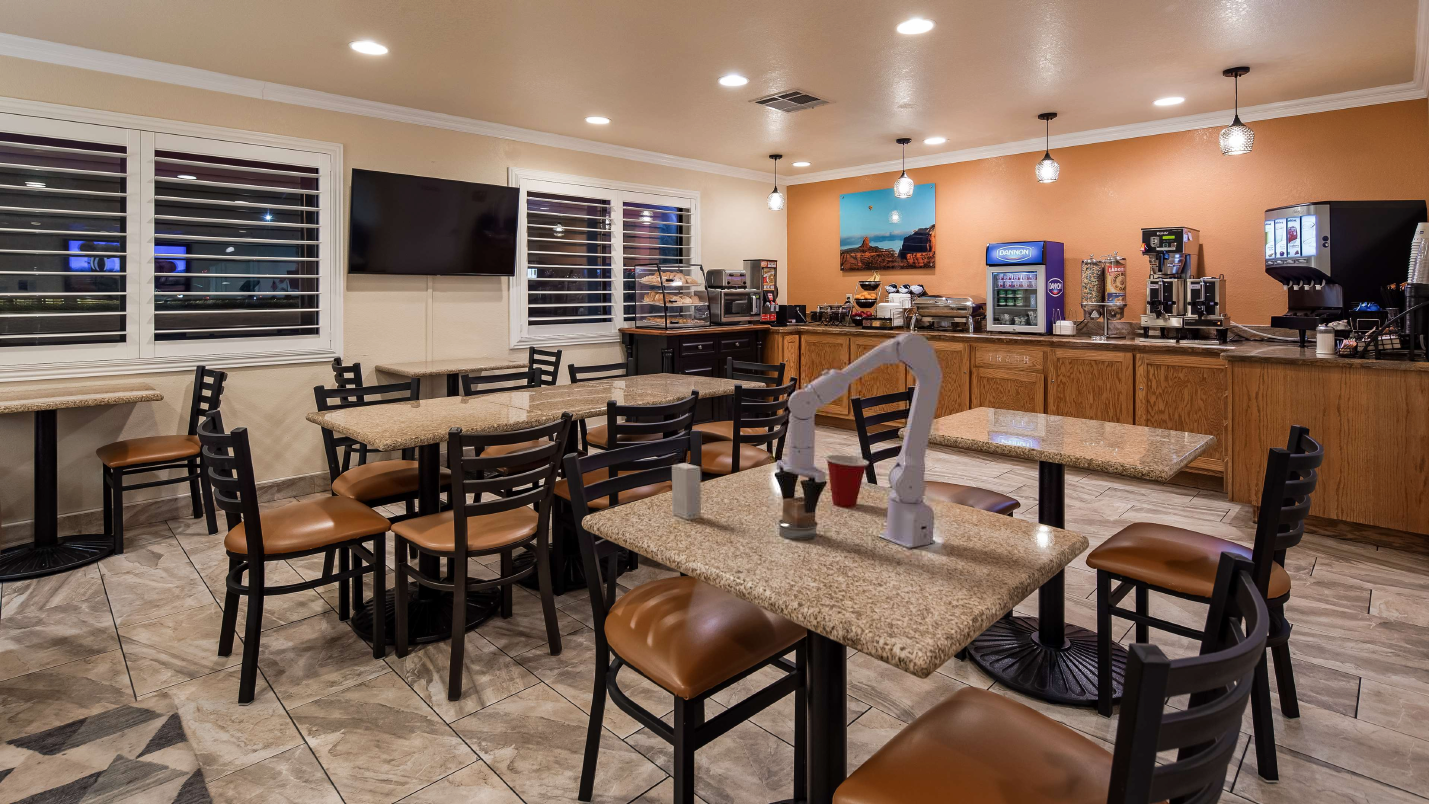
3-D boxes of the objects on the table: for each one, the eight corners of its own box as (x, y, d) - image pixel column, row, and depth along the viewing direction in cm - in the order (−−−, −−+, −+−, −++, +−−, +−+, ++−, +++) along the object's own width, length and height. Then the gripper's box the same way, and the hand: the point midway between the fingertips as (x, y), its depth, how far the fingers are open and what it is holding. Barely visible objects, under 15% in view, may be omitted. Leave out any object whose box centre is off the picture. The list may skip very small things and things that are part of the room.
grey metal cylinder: (825, 538, 161) (825, 525, 160) (793, 544, 156) (794, 530, 156) (801, 528, 168) (801, 515, 167) (770, 533, 163) (771, 520, 163)
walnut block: (814, 524, 161) (815, 501, 160) (796, 527, 158) (797, 504, 157) (800, 518, 165) (801, 496, 164) (782, 521, 162) (783, 499, 162)
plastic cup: (870, 510, 183) (873, 462, 181) (826, 509, 183) (828, 461, 181) (863, 499, 194) (865, 454, 192) (821, 498, 194) (823, 453, 192)
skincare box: (701, 517, 174) (702, 466, 172) (686, 520, 171) (687, 468, 169) (685, 511, 179) (686, 462, 177) (670, 514, 176) (671, 464, 174)
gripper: (766, 442, 164) (764, 502, 165) (807, 453, 151) (805, 518, 153) (792, 439, 167) (790, 498, 169) (834, 450, 155) (831, 514, 157)
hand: (799, 508), depth 161 cm, fingers open, 7 cm apart
